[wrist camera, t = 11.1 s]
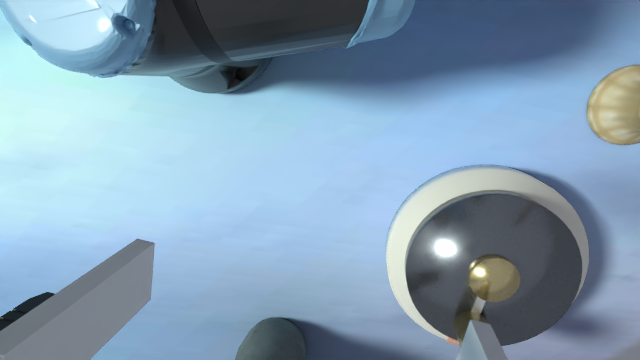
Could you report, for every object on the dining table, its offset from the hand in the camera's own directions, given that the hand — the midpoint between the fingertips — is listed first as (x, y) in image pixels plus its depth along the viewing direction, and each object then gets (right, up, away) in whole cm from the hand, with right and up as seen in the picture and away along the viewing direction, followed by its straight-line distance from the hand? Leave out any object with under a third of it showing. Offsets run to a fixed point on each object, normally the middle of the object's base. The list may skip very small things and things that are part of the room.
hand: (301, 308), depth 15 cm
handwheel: (+20, -5, +27) cm, 34 cm away
